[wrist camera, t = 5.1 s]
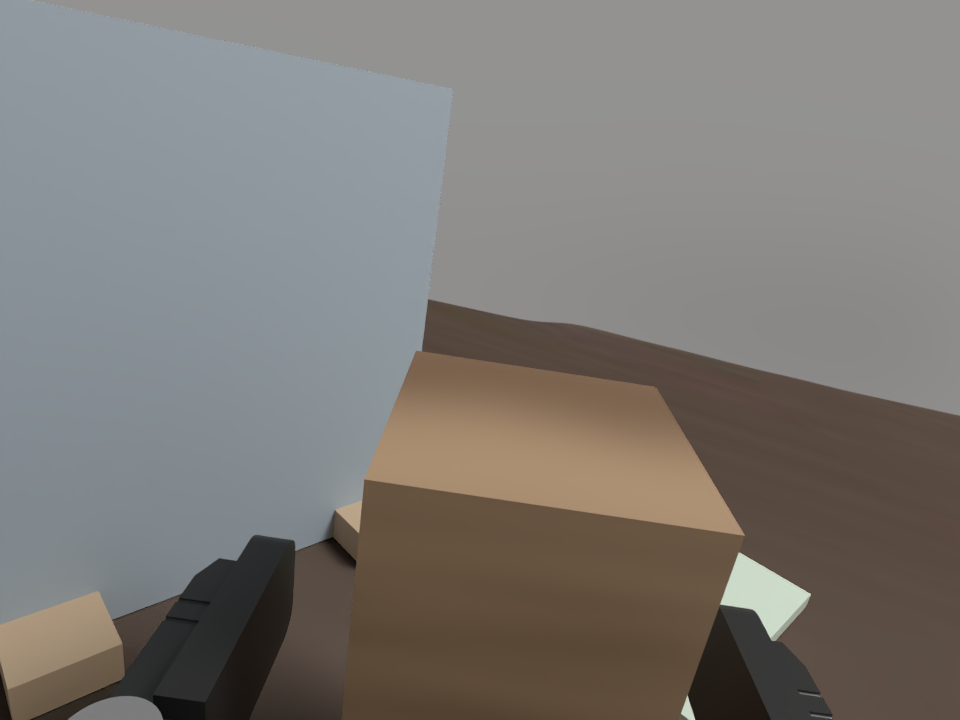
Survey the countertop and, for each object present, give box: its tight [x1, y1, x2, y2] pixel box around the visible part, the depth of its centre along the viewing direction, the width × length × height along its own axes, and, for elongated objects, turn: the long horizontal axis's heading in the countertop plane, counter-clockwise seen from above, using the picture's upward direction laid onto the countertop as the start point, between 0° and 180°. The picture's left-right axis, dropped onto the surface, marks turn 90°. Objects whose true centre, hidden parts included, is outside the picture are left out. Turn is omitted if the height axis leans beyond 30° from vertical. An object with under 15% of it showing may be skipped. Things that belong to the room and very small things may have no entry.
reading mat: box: [679, 553, 811, 720], centre depth 23 cm, size 9×9×1 cm
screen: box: [0, 0, 453, 720], centre depth 18 cm, size 14×6×16 cm, turn 133°
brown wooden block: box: [342, 351, 745, 720], centre depth 11 cm, size 4×5×11 cm
